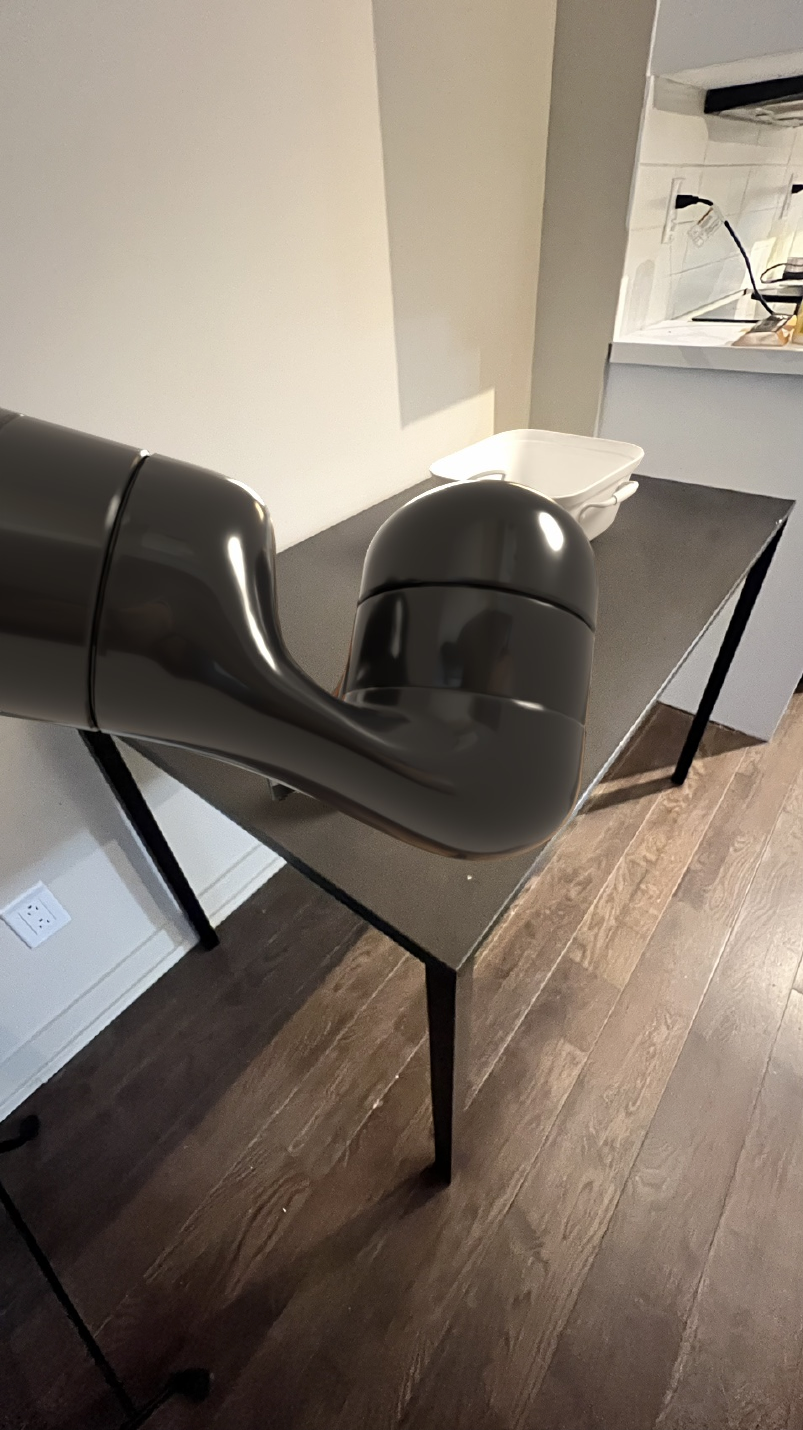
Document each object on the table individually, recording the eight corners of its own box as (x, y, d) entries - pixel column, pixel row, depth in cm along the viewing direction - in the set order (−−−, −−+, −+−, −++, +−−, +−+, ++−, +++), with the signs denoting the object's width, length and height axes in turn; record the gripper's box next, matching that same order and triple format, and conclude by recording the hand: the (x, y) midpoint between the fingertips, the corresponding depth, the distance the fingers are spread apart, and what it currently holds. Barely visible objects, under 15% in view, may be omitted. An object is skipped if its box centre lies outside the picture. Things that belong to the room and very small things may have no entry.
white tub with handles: (658, 535, 111) (674, 449, 101) (571, 601, 96) (580, 507, 86) (502, 499, 130) (503, 423, 121) (409, 549, 115) (402, 467, 106)
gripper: (279, 844, 32) (284, 833, 48) (524, 764, 35) (453, 779, 51) (239, 708, 33) (257, 741, 49) (483, 640, 36) (425, 692, 52)
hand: (357, 760), depth 50 cm, fingers open, 8 cm apart
